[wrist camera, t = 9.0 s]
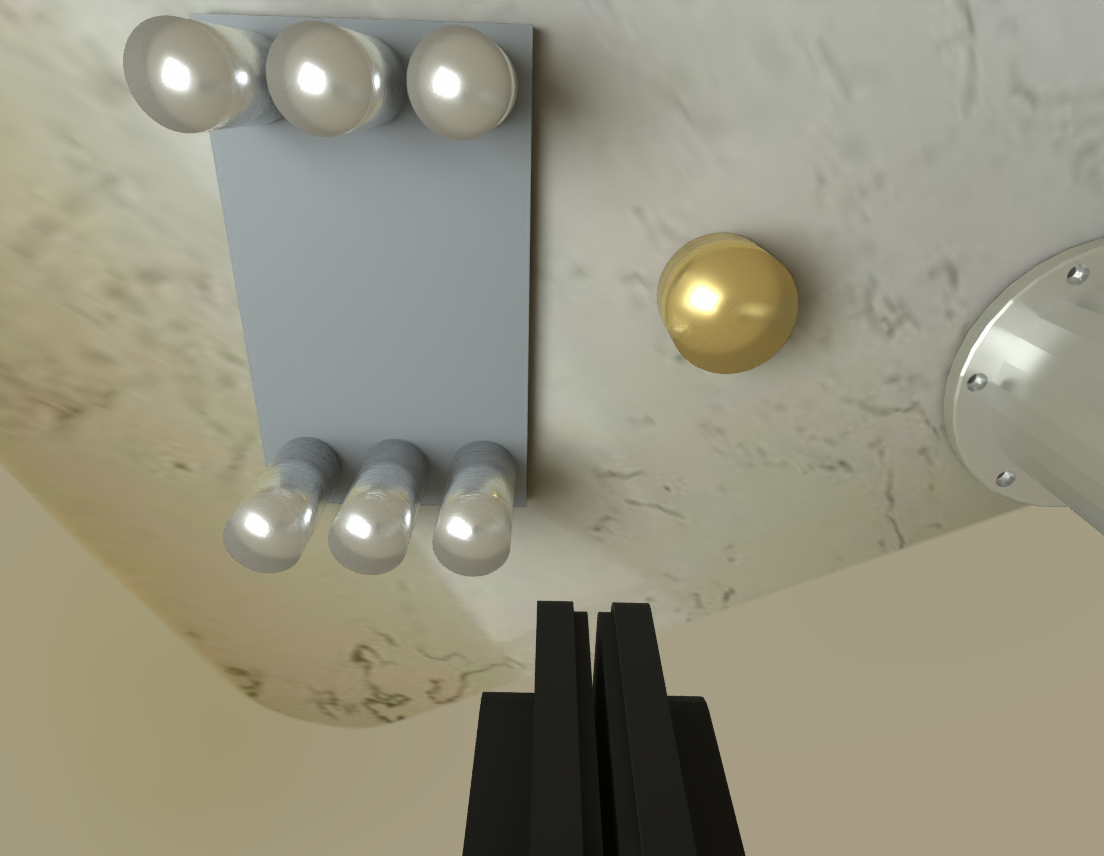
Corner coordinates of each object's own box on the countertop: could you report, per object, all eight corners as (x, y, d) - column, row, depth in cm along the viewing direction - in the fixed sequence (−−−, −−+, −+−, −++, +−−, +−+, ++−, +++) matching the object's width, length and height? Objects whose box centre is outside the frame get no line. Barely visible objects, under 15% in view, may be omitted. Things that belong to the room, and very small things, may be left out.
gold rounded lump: (781, 230, 29) (806, 245, 26) (769, 346, 31) (790, 371, 28) (658, 235, 29) (670, 250, 26) (655, 351, 31) (665, 375, 28)
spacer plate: (532, 25, 25) (532, 24, 25) (526, 500, 34) (526, 506, 33) (196, 15, 25) (189, 13, 25) (276, 495, 34) (272, 502, 33)
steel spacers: (518, 40, 25) (511, 26, 20) (515, 497, 33) (510, 577, 28) (206, 29, 25) (111, 13, 19) (281, 493, 33) (230, 572, 28)
